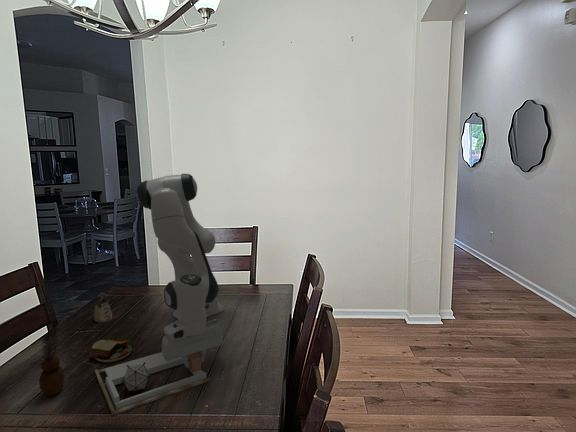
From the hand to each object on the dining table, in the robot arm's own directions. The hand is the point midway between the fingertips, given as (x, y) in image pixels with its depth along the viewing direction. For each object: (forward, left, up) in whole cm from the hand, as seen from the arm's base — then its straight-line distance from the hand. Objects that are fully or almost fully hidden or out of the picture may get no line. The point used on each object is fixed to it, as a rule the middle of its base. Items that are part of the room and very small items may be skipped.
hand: (194, 364), depth 129 cm
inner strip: (+12, -13, -2) cm, 18 cm away
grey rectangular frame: (+12, 0, -2) cm, 13 cm away
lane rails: (+12, -5, -2) cm, 13 cm away
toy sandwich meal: (+20, -27, -3) cm, 34 cm away
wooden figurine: (+39, -14, -2) cm, 42 cm away
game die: (+18, 0, -3) cm, 19 cm away
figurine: (+16, -63, -2) cm, 65 cm away
